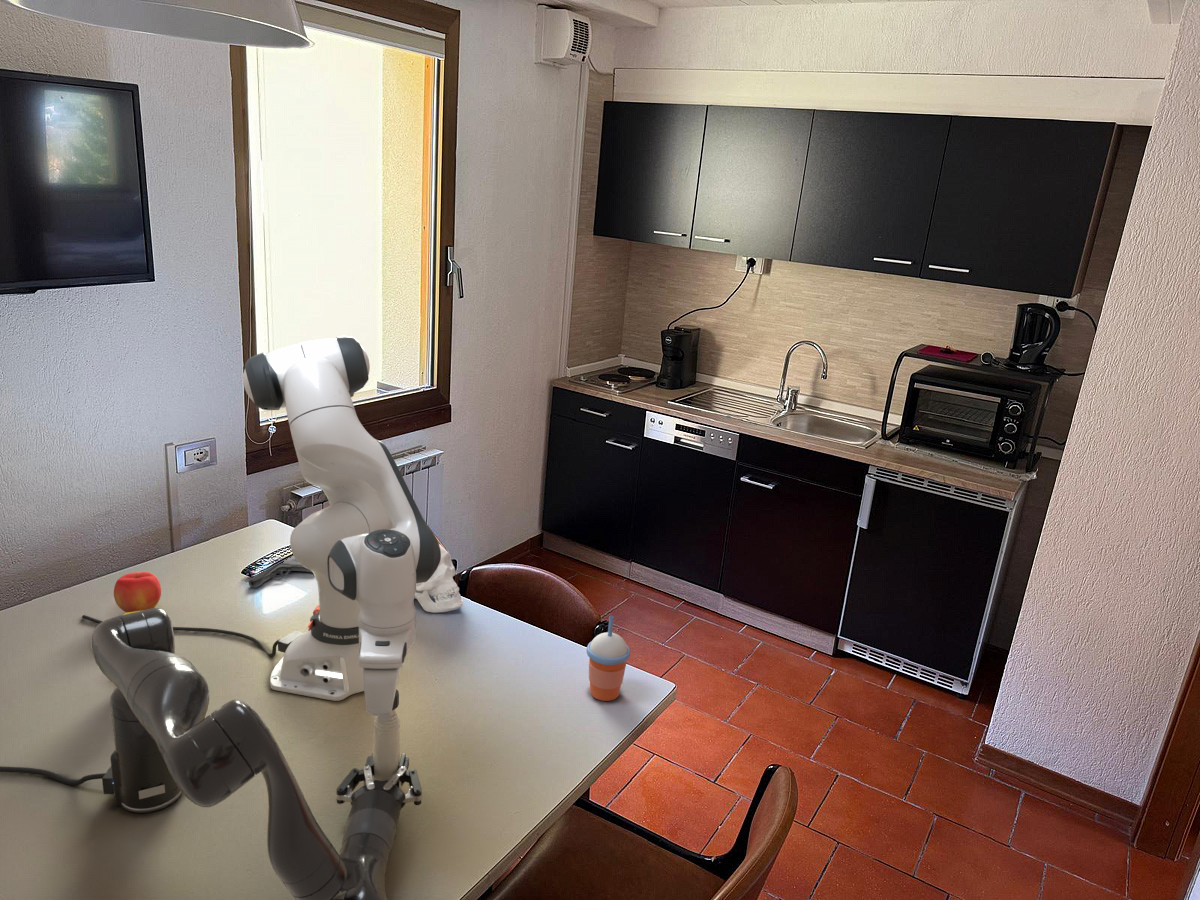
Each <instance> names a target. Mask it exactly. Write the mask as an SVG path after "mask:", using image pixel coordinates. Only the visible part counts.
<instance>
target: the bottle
mask: <svg viewBox="0 0 1200 900" xmlns="http://www.w3.org/2000/svg"><path fill="white" fill-rule="evenodd" d="M400 741H401V723H400V719H399V716H398V713H397V711H396V709H395V710H393V711H392V712H391V714H390V719H389V721H387V722H384V721H379V720H378V715H375V718H374V721H373V753H374V775H373V780H380V781H385V780H389V779H390V778H391V777H392V775H393V774H395V773H396V772H397V771H398V766H399V762H400V758H401V753H400V752H401V751H400V750H401V749H400V748H401V747H400V746H401V744H400V743H401V742H400Z"/></svg>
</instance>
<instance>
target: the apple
mask: <svg viewBox="0 0 1200 900" xmlns="http://www.w3.org/2000/svg"><path fill="white" fill-rule="evenodd" d="M161 596H162V586H161V582H160V580H159V578H158V577H157V576H156V575H155V574H154V573H151V572H149V571H136V572H135V571H134V572H128V573H126V574H124V575H122V576H120V577H119V578H118V579H117V580H116V581H115V584H114V588H113V598H114V601H115V604H116V605H117V607H118V608H119V609H120V610H121V611H122V612H124V613H128V612H135V611H142V610H147V609H152V608H156V606H157V605H158V603H159V602H160V600H161V598H162V597H161Z"/></svg>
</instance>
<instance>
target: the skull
mask: <svg viewBox="0 0 1200 900" xmlns="http://www.w3.org/2000/svg"><path fill="white" fill-rule="evenodd" d="M439 546H440V551H441V560H440V563H439V565H438V567H437V569H436V571H435V572H434V574H433V575H432V576H431V578H430V579H429V580H428V581H427V582H423V583H416V592H415V595H414V599H416V600H417V601H418V603H419V604H420V605H421V607H422V609H423V610H424V612H425V611H426V612H427V613H433V614H435V613H436V614H437V613H447V612H451V611H454V610H455V611H456V610H458V609H460V608H463V606H464V602H465V601H464V600H463V599H462V596H461V594H460V587H459V586H458V584H457V583H456V581H455V580H454V577H455V576H456V574H457V572H456V568H455V566H454V564H453V561H452V559H451V554H450V552H449V551H447V550H446V549H445V548H444V547H443V545H441V544H440V543H439ZM430 596H431V597H433V599H434V600H432V599H431V597H430Z"/></svg>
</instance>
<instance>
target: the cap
mask: <svg viewBox="0 0 1200 900" xmlns="http://www.w3.org/2000/svg"><path fill="white" fill-rule="evenodd" d="M399 705H400V692H399V690H398V689H397V688H396V692H395V697H394V702H393V708H392V711H393V710H395V711H396V710H397V708H399Z"/></svg>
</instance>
